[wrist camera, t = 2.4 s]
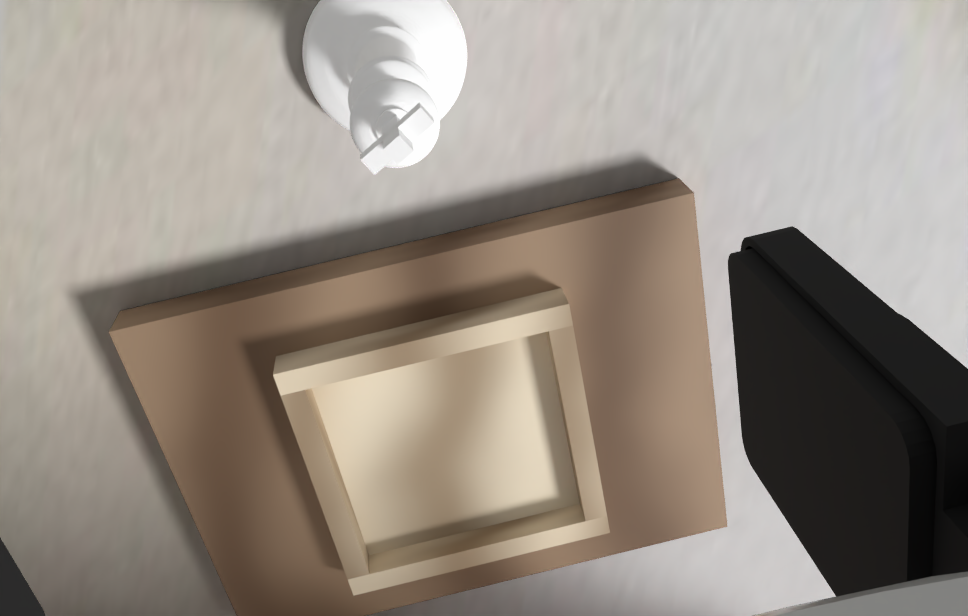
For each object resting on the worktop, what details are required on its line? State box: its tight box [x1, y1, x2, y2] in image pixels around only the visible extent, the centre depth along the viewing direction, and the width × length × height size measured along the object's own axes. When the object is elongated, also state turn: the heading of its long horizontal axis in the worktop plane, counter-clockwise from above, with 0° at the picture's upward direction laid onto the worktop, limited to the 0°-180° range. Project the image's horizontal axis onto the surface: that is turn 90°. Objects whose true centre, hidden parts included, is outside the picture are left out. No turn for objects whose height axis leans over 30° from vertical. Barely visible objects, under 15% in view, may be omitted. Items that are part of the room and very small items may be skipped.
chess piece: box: [302, 0, 467, 175], centre depth 23 cm, size 5×5×10 cm
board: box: [109, 178, 727, 616], centre depth 32 cm, size 19×14×3 cm
